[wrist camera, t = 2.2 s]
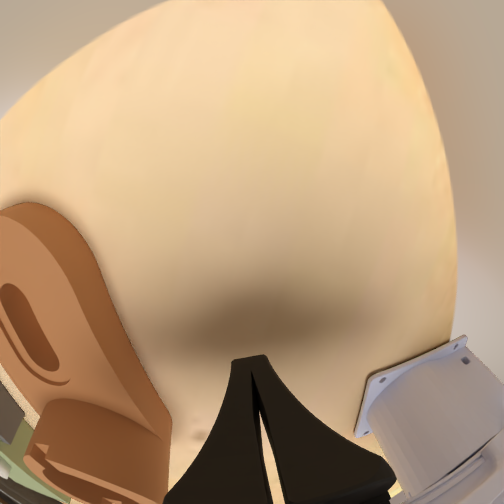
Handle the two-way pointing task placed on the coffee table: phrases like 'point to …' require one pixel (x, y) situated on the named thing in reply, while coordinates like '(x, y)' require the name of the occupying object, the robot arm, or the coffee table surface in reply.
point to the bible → (21, 494)
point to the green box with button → (19, 448)
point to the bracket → (77, 367)
